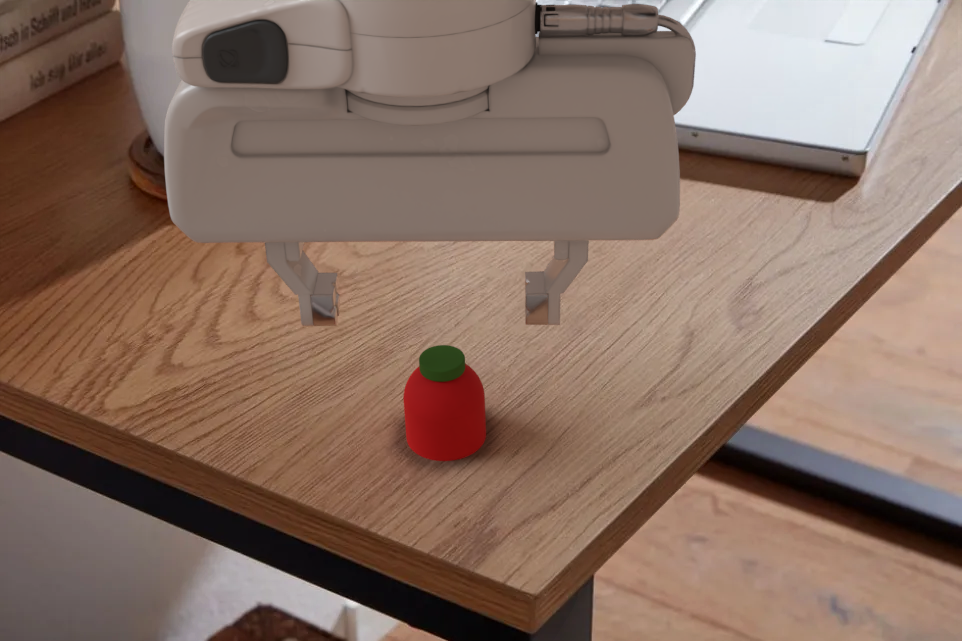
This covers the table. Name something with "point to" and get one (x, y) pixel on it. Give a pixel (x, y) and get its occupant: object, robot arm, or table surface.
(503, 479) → the table surface
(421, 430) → the red sauce bottle
